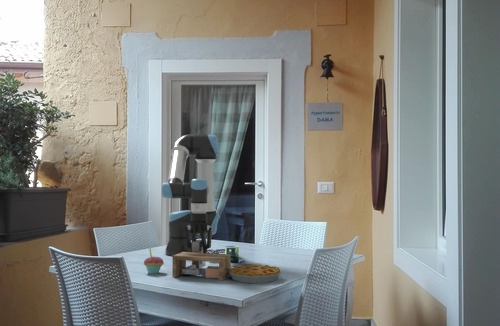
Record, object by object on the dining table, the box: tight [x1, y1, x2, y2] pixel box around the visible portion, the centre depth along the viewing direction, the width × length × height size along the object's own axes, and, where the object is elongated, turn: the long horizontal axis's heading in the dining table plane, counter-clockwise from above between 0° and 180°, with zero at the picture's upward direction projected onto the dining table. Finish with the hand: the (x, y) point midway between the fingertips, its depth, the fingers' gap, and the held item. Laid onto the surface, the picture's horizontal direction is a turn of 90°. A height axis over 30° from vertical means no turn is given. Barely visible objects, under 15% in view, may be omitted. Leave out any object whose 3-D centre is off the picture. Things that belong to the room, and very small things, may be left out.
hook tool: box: [181, 239, 206, 276], centre depth 236 cm, size 21×9×12 cm, turn 164°
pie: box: [229, 263, 282, 284], centre depth 224 cm, size 22×22×5 cm
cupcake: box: [143, 245, 164, 275], centre depth 235 cm, size 9×8×12 cm
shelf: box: [171, 252, 232, 281], centre depth 228 cm, size 11×22×9 cm, turn 74°
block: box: [205, 265, 219, 279], centre depth 228 cm, size 6×6×4 cm
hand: (198, 263), depth 243 cm, fingers closed on hook tool, 3 cm apart
